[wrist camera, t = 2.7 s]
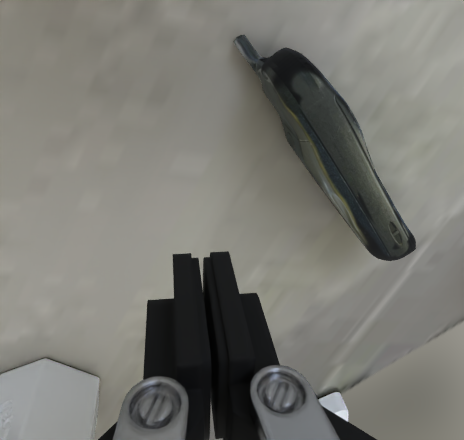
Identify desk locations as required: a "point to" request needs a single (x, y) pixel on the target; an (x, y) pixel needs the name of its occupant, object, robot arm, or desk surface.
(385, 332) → the desk surface
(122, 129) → the desk surface
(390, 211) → the mobile phone
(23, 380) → the jar
